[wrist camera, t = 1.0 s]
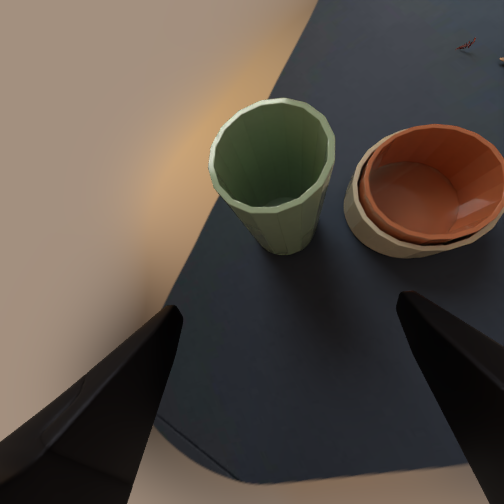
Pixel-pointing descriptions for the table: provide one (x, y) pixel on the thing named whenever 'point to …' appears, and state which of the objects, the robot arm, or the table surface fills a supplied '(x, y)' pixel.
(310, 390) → the table surface
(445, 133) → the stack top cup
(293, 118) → the tumbler
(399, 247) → the stack base cup
